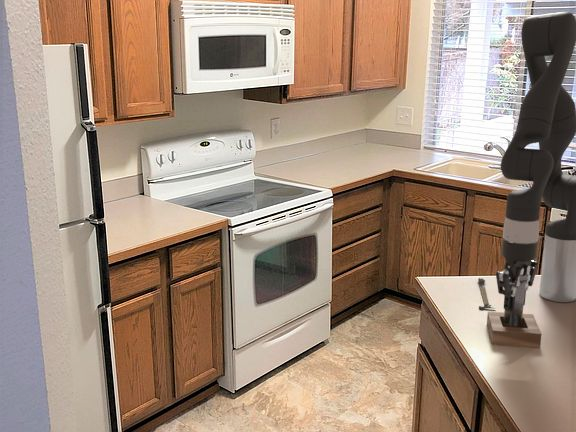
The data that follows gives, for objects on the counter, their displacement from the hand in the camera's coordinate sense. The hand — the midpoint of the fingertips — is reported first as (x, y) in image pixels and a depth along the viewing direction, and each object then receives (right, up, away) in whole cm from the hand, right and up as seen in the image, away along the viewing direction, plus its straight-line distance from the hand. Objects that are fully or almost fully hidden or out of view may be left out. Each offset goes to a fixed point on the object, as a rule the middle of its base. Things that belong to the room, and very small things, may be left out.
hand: (514, 307), depth 142 cm
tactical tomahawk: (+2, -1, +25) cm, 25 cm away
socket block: (0, -7, +2) cm, 7 cm away
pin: (0, -4, +1) cm, 4 cm away
